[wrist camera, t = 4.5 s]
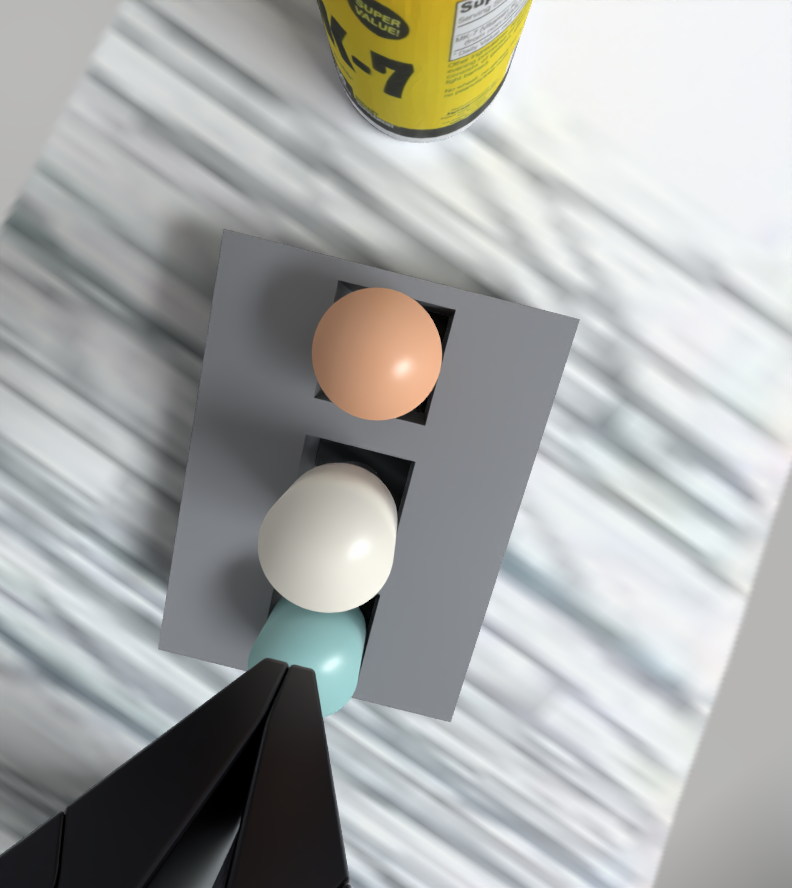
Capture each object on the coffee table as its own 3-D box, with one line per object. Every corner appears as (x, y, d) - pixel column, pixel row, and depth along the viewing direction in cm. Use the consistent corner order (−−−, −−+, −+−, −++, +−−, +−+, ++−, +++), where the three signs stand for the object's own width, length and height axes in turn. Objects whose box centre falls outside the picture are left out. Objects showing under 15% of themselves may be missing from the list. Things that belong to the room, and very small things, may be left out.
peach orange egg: (421, 410, 14) (423, 434, 10) (332, 388, 14) (300, 403, 10) (445, 318, 14) (457, 306, 10) (353, 294, 13) (326, 273, 10)
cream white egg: (388, 546, 14) (376, 626, 10) (296, 523, 14) (246, 594, 10) (411, 457, 13) (408, 504, 9) (315, 433, 13) (271, 469, 9)
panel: (445, 667, 16) (450, 721, 14) (195, 605, 16) (158, 649, 14) (551, 324, 14) (579, 319, 11) (257, 249, 14) (223, 228, 11)
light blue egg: (362, 635, 16) (344, 731, 12) (283, 616, 16) (238, 704, 12) (382, 562, 15) (369, 636, 11) (299, 541, 15) (258, 608, 11)
